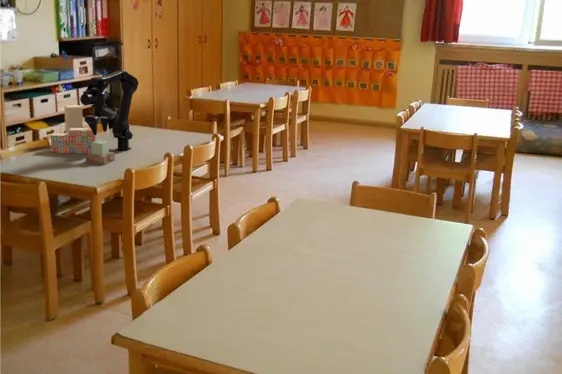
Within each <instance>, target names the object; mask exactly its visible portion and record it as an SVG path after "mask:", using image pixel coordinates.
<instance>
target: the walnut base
mask: <svg viewBox="0 0 562 374" xmlns="http://www.w3.org/2000/svg"><path fill="white" fill-rule="evenodd" d="M115 154H116V153H115V152H111V151H109V153H108V154H106V155H103V156H101V155H93V154H92V153H86V154H85V163H86V164H93V165H101V166H106V165H108V164H109V163H111V162H115V160H116V157H115Z"/></svg>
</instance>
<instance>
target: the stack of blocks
mask: <svg viewBox="0 0 562 374" xmlns="http://www.w3.org/2000/svg"><path fill="white" fill-rule="evenodd" d="M94 141H96V135H94V134H93V132H92V130H91V128H90V127H83V128H70V130H69V133H66V132H53V133H51V135H50V142H51V143H50V145H51V146H50V147H51V153H58V154H61V153H62V154H89V153H92V147H91V142H94Z"/></svg>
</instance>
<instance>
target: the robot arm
mask: <svg viewBox="0 0 562 374" xmlns="http://www.w3.org/2000/svg"><path fill="white" fill-rule="evenodd" d="M115 82H119V83H120V84H121V85H120V86H121V87H120V88H121V89H122V96H121V102H120V106H119V113H118V110H117V108H116V107H113V108H108V105H107V104H106V98H105V94H108V91H107V90H106V89H107V88H108V87H109V85H111V84H113V83H115ZM138 86H139V80H138V78H137V77H135V76H133V75H132V74H130V73H128V72H127V70H124V69H123V70H121V69H118V70H116V71H113V72H111V73H109V74H107V75H104V76H93V77H91V78H90V80H89V83H88V86H87V87H86V89H85V90H83V91H82V92H83V93H82V94H81V95H80V97H79V100H80V103H81V104H82V105H83V106H84V107H85V106H91V108H93V110H92V111H93V112H91V115H90V114H89V115H86V116H84V122H85V123H86V124H87V125H88V126H89V127H88V128H91V130H92V132H93V134H94V135H95V136H97V135H98V125H99V124H101V127H102V131H103V132H104V133H106V132H107V129H108V127H109V123H110V121H111V120H113V119H115V118H116V116H117V115H118V118H117V120H113V122H112V127H111V131H112V134H113V138H114V139H117V147H116V148H114V149H115V150H116V151H124V152H127V151H129V150H132V147H130V140H131V139H133V136H134V134H133V133H132V131H130V124H129V114H130V110H131V104H132V99H133V95H134V93H135V92H136V91H137V89H138Z"/></svg>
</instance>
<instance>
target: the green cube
mask: <svg viewBox="0 0 562 374" xmlns="http://www.w3.org/2000/svg"><path fill="white" fill-rule="evenodd" d="M109 143H110V142H109V140H99V139H97V140H95V141H94V142H91V147H92V154H93V155H101V156H103V155H106V154H108V153H109V152H110V147H109V146H110V144H109Z"/></svg>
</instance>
